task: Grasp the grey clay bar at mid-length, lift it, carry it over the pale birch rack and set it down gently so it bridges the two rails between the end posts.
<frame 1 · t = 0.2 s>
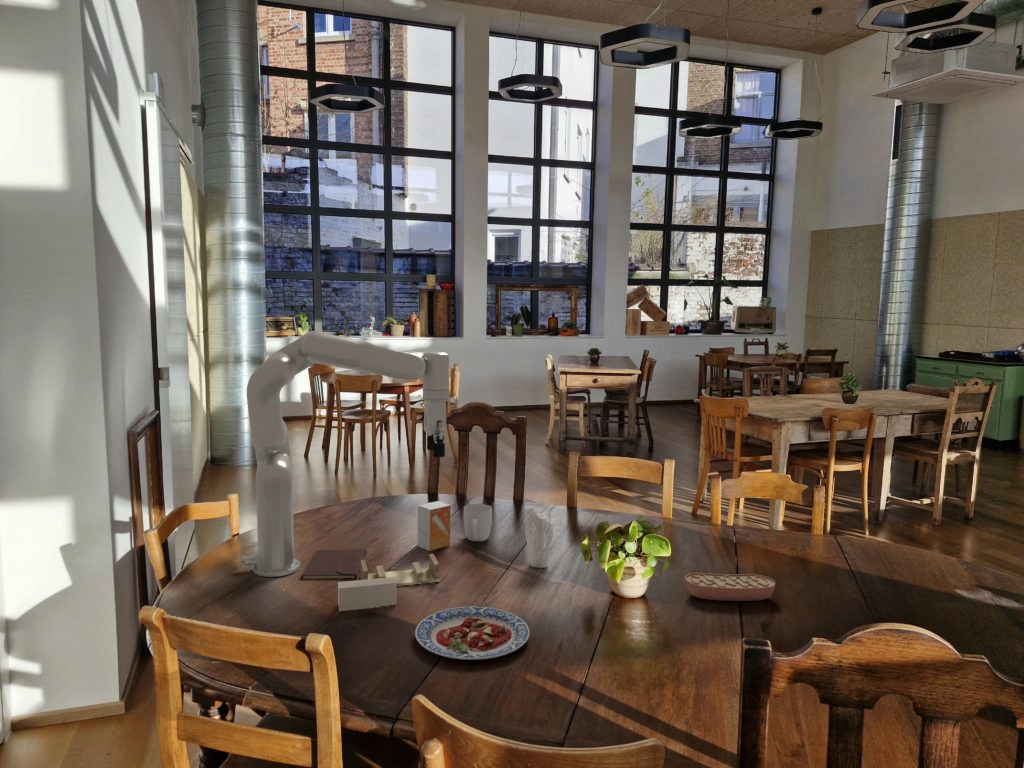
hand: (435, 453, 216), 31 cm above the table, tool pointing down, fingers open, 9 cm apart
small box: (433, 546, 228), on the table
clay bar: (367, 605, 185), on the table
oval trinket tray: (729, 599, 193), on the table
mug: (476, 541, 234), on the table
white fluted vase: (538, 566, 214), on the table
notebook: (335, 567, 211), on the table
ceramic plate: (472, 640, 168), on the table
rack: (399, 579, 201), on the table
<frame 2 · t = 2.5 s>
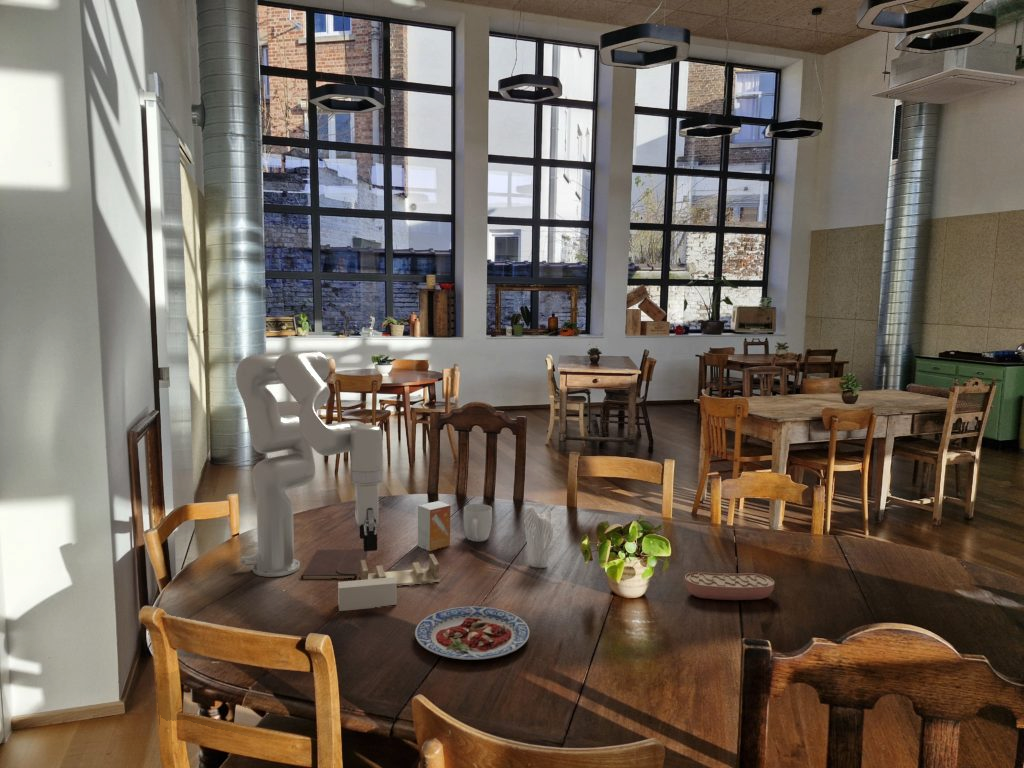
hand: (368, 544, 183), 16 cm above the table, tool pointing down, fingers open, 9 cm apart
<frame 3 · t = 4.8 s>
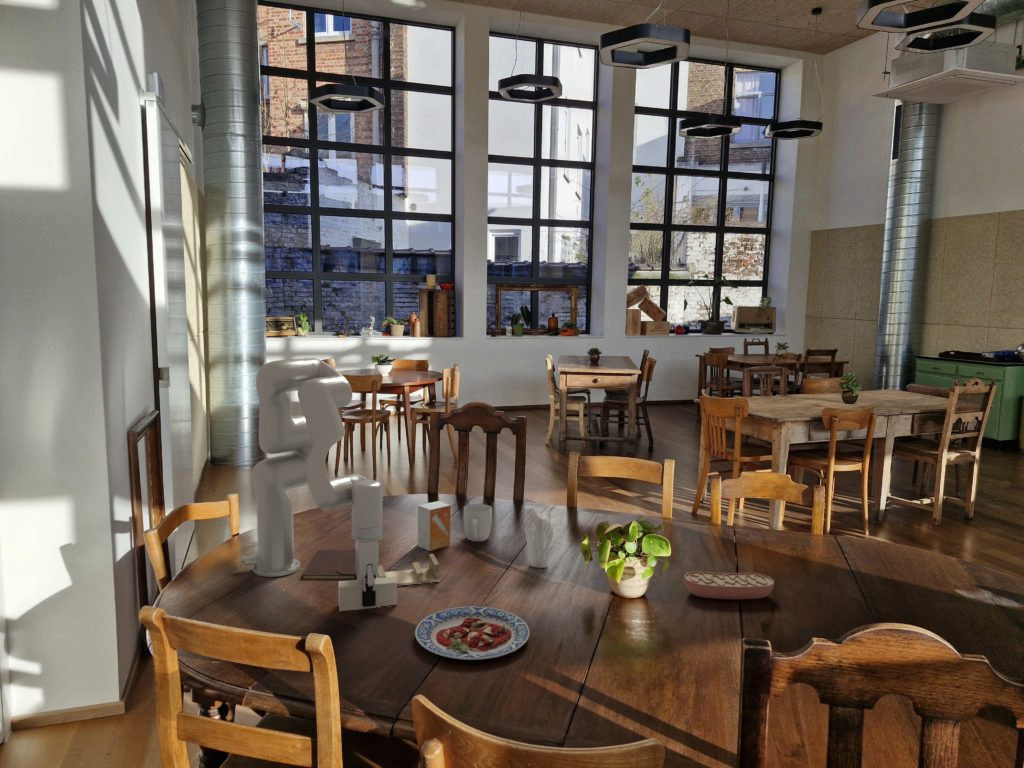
hand: (367, 601, 185), 1 cm above the table, tool pointing down, fingers closed on clay bar, 4 cm apart
clay bar: (367, 605, 185), on the table, touching gripper
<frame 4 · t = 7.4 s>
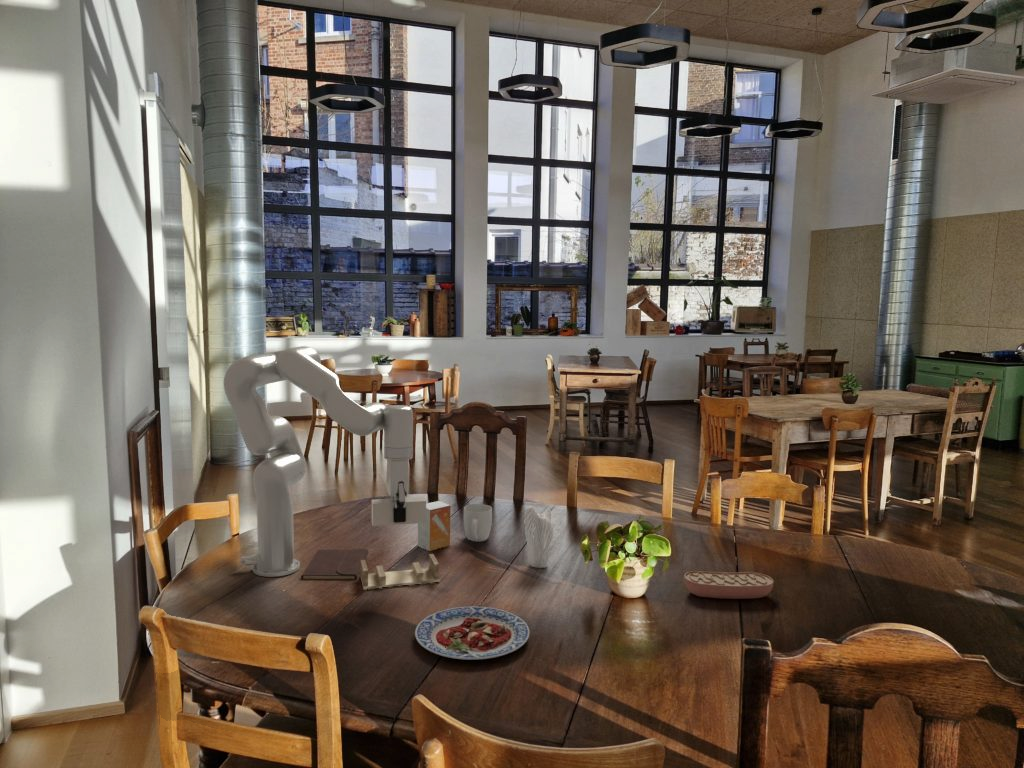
hand: (398, 518, 199), 17 cm above the table, tool pointing down, fingers closed on clay bar, 4 cm apart
clay bar: (398, 522, 199), point 16 cm above the table, touching gripper
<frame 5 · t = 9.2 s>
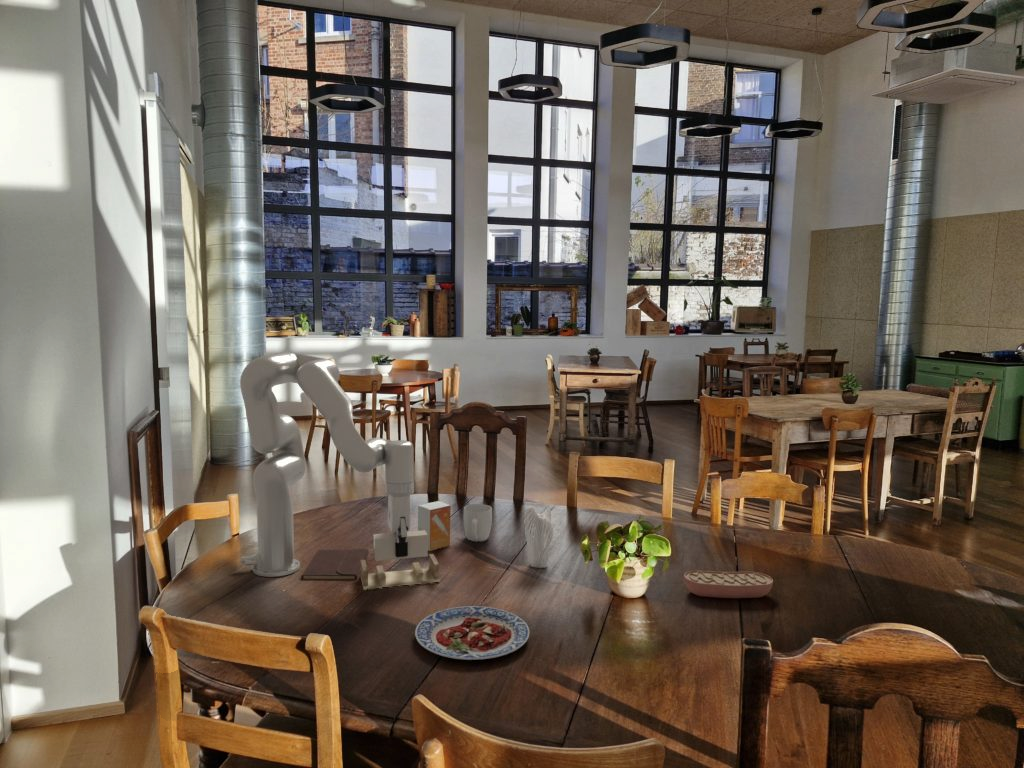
hand: (400, 552, 200), 8 cm above the table, tool pointing down, fingers closed on clay bar, 4 cm apart
clay bar: (400, 556, 200), point 7 cm above the table, touching gripper
when the fingers open (5 cm above the table, at t = 10.4 s): clay bar drops 1 cm, resting on rack.
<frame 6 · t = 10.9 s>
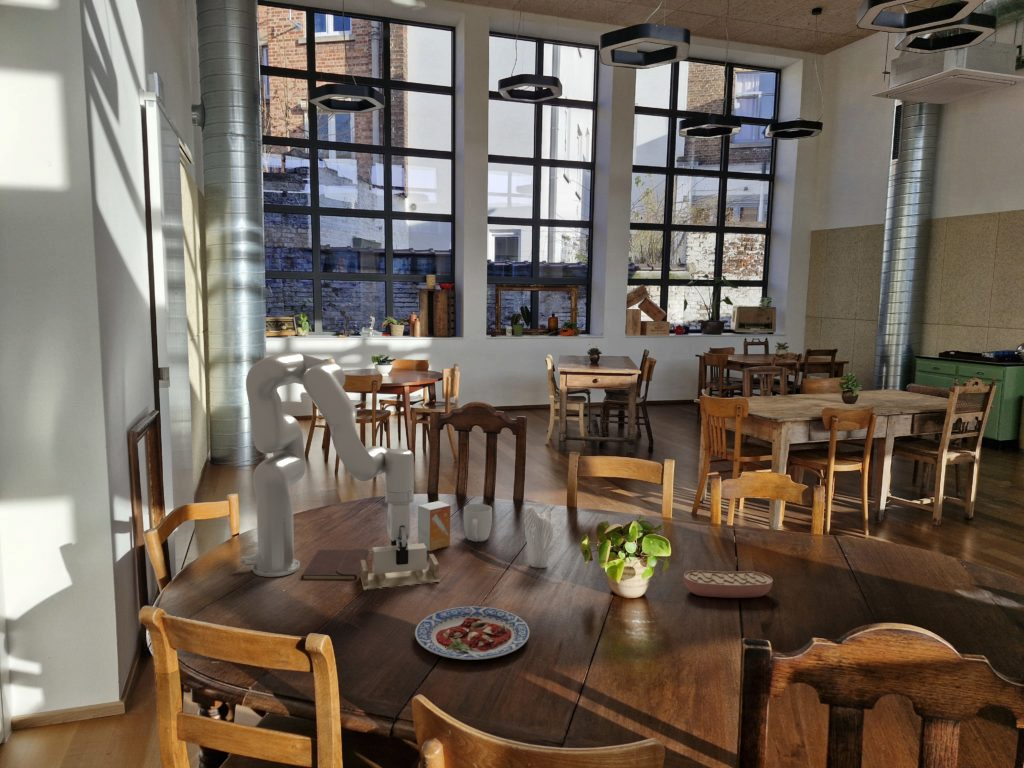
hand: (399, 557, 201), 6 cm above the table, tool pointing down, fingers open, 9 cm apart
clay bar: (399, 569, 201), point 3 cm above the table, touching rack
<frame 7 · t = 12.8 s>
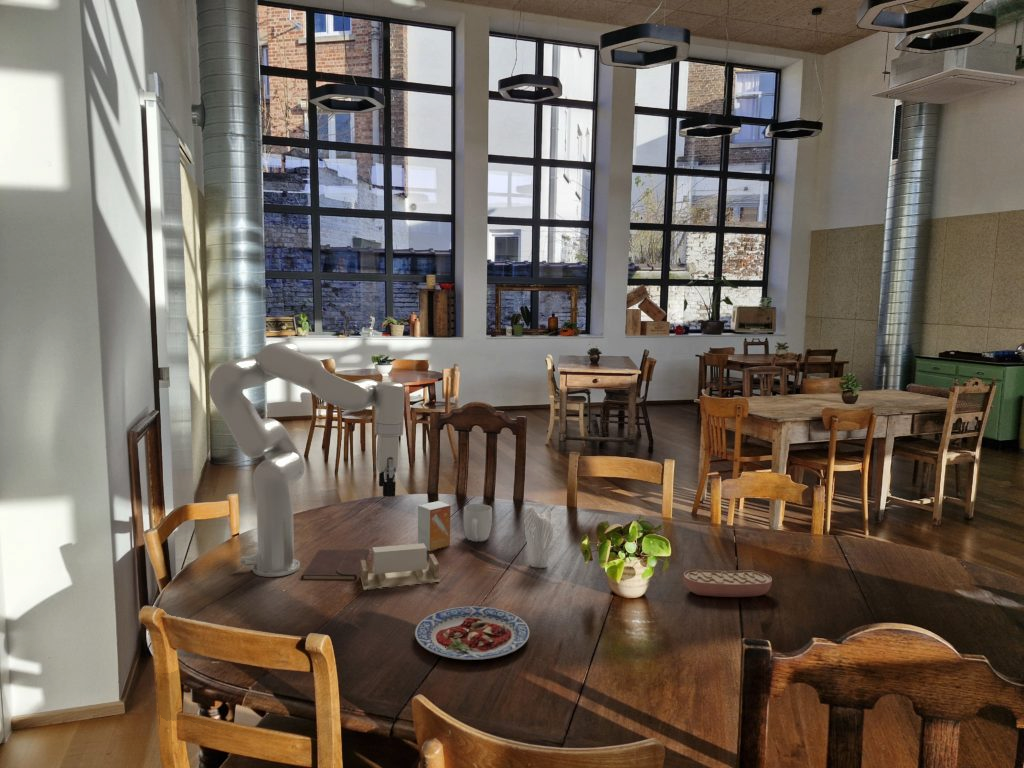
hand: (386, 491, 200), 24 cm above the table, tool pointing down, fingers open, 9 cm apart
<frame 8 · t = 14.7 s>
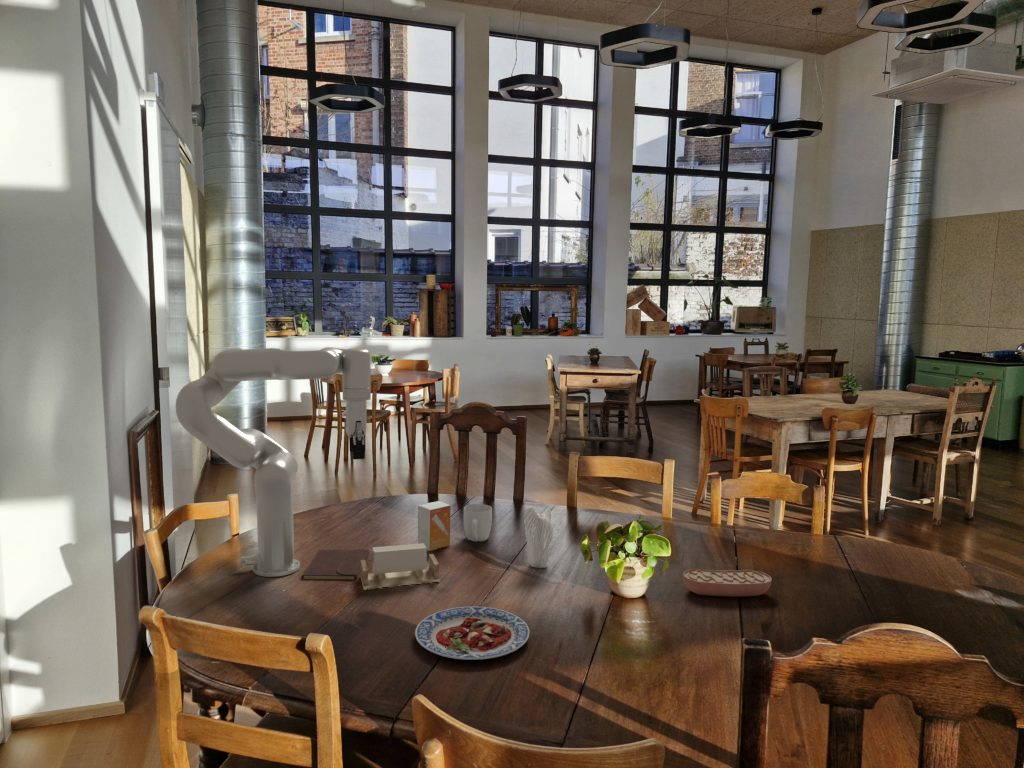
hand: (357, 455, 206), 32 cm above the table, tool pointing down, fingers open, 9 cm apart
at the end: clay bar 0.0 cm off-centre on the rack, point 3.0 cm above the rack's base; clay bar tilted 0°; the gripper is holding nothing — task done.
